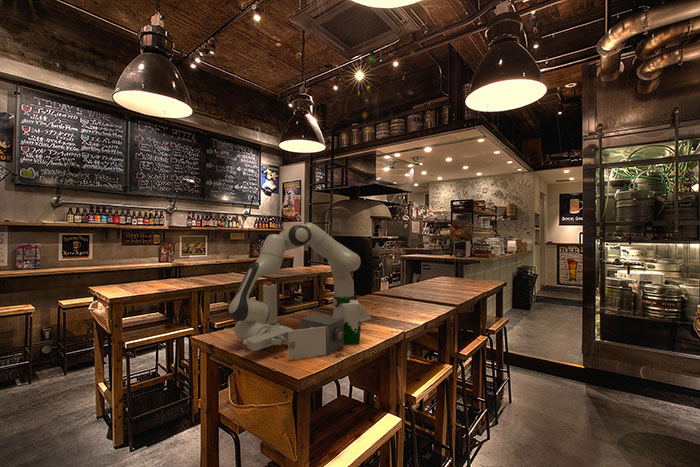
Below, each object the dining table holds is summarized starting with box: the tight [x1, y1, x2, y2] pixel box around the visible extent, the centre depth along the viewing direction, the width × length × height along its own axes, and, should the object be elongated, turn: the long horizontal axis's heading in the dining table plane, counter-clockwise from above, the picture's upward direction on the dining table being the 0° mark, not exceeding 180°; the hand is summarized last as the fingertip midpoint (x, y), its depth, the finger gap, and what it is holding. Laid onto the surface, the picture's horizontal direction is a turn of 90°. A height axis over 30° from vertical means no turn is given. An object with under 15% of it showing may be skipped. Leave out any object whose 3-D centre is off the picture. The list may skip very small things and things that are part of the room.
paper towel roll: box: [262, 283, 278, 324], centre depth 169 cm, size 7×6×21 cm
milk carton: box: [340, 297, 362, 346], centre depth 140 cm, size 9×9×20 cm
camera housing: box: [300, 313, 345, 355], centre depth 134 cm, size 18×10×12 cm, turn 52°
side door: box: [287, 326, 330, 361], centre depth 123 cm, size 16×1×11 cm, turn 109°
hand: (283, 342), depth 124 cm, fingers closed
